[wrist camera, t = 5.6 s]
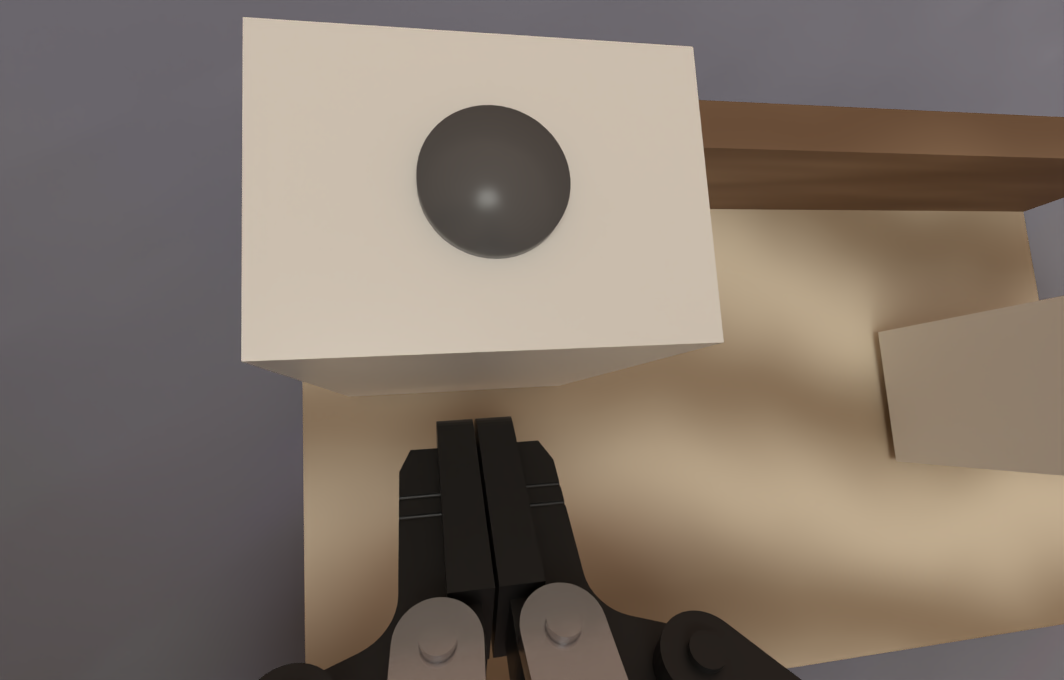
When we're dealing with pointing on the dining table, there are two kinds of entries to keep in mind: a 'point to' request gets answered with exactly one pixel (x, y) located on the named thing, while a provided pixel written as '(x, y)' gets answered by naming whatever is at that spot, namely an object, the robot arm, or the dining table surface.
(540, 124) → the key one
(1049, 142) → the console
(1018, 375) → the key two
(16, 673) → the dining table surface
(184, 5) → the dining table surface
